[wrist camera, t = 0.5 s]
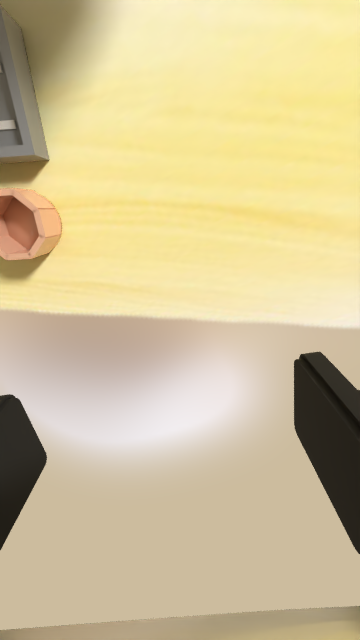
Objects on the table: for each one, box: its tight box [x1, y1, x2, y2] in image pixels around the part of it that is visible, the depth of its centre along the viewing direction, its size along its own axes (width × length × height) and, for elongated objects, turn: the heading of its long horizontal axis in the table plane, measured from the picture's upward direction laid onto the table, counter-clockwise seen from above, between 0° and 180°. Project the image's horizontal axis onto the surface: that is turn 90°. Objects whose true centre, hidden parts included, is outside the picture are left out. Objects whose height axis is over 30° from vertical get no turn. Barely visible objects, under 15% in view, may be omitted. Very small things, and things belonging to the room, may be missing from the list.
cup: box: [0, 188, 62, 260], centre depth 33 cm, size 8×8×5 cm
